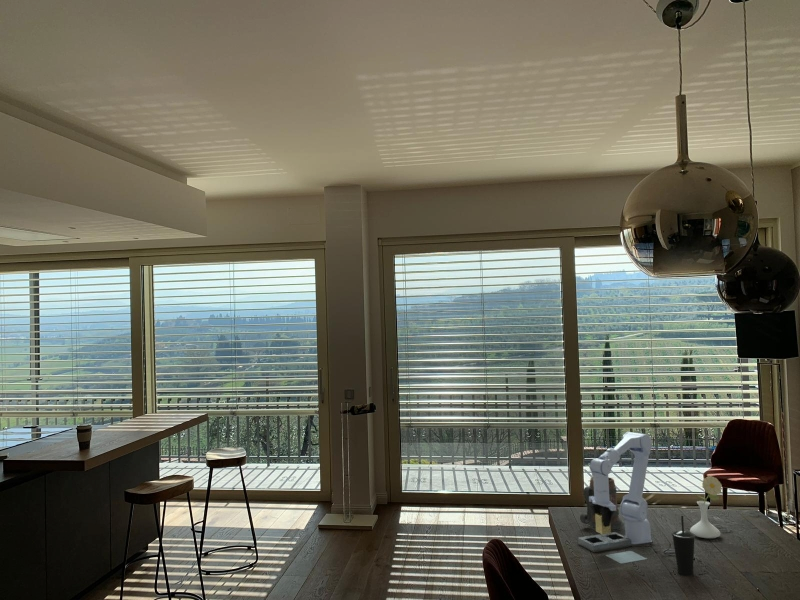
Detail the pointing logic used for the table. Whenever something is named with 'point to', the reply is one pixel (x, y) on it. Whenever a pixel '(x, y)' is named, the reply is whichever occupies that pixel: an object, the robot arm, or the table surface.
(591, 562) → the table surface
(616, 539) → the grey socket tray
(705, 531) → the flower in vase
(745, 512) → the table surface
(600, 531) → the beige rectangular block
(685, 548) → the drinking cup
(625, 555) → the pale flat rectangular plate
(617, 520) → the tankard
